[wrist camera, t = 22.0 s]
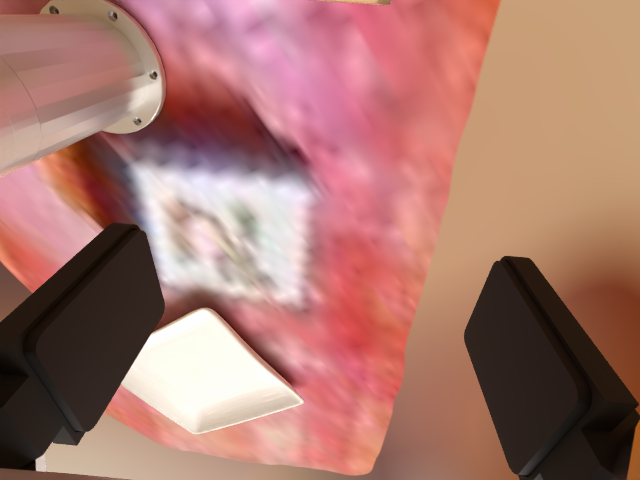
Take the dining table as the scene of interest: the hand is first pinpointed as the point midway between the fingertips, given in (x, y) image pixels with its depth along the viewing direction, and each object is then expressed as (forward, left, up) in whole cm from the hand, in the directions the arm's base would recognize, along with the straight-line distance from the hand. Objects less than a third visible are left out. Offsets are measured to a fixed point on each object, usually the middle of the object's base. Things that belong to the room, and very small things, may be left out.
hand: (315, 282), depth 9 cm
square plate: (-20, -49, -31) cm, 61 cm away
